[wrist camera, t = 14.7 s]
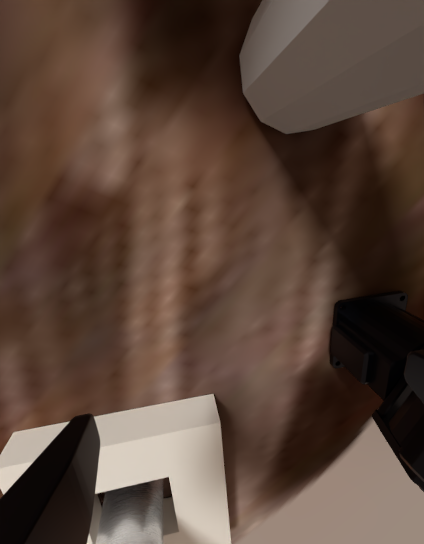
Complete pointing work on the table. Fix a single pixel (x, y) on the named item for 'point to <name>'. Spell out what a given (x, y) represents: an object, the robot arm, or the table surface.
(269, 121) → the water bottle
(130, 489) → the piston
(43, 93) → the table surface
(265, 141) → the table surface
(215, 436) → the square hole plate
